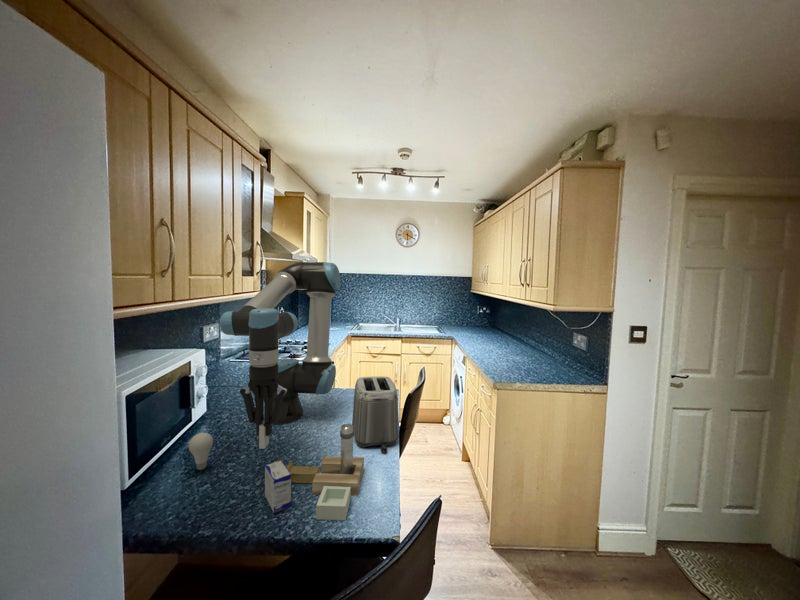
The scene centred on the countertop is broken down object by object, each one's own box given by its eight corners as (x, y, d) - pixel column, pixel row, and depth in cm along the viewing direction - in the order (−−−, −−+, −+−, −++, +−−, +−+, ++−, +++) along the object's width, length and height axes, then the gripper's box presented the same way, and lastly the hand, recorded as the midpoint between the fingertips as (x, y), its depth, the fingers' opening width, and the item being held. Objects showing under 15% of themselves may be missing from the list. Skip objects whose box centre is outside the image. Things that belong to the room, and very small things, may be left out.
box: (292, 506, 79) (291, 473, 78) (273, 514, 76) (273, 480, 76) (281, 489, 85) (281, 459, 84) (264, 496, 82) (264, 465, 82)
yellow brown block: (315, 484, 87) (315, 473, 87) (282, 483, 87) (282, 472, 87) (320, 474, 92) (320, 463, 91) (288, 473, 92) (288, 462, 92)
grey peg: (338, 485, 87) (338, 429, 86) (341, 476, 91) (341, 423, 90) (352, 485, 87) (352, 430, 86) (354, 477, 91) (354, 423, 90)
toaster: (391, 415, 133) (392, 371, 131) (403, 453, 104) (405, 397, 102) (351, 417, 130) (352, 372, 129) (352, 457, 101) (353, 400, 100)
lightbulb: (187, 478, 89) (186, 440, 88) (191, 466, 95) (190, 430, 94) (211, 473, 92) (211, 436, 91) (214, 461, 97) (214, 427, 96)
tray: (316, 519, 75) (316, 505, 74) (324, 498, 82) (324, 486, 81) (345, 520, 75) (345, 506, 74) (350, 499, 82) (350, 486, 81)
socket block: (357, 495, 83) (357, 483, 83) (312, 494, 83) (312, 481, 83) (363, 468, 95) (363, 457, 95) (324, 467, 95) (324, 456, 95)
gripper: (233, 366, 84) (234, 452, 85) (281, 368, 83) (281, 454, 85) (247, 360, 91) (248, 438, 92) (292, 361, 91) (291, 440, 92)
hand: (264, 446), depth 89 cm, fingers closed
